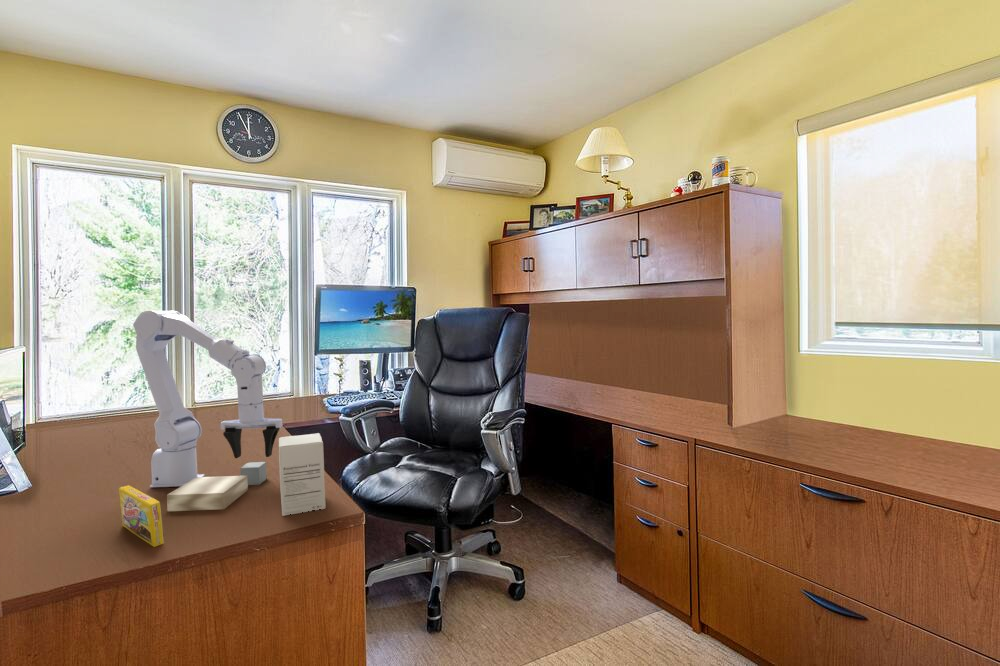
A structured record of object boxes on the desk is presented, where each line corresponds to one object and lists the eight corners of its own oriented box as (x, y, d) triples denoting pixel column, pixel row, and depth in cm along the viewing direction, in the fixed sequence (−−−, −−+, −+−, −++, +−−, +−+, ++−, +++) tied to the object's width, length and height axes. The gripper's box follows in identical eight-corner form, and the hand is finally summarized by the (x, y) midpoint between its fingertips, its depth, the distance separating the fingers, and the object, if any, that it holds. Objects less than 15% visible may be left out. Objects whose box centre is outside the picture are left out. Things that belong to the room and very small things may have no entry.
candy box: (120, 527, 104) (118, 487, 104) (132, 523, 106) (130, 484, 106) (151, 548, 94) (149, 504, 94) (164, 544, 96) (162, 500, 96)
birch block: (167, 513, 112) (166, 495, 112) (197, 493, 124) (196, 477, 124) (224, 510, 113) (223, 492, 113) (247, 491, 125) (247, 475, 125)
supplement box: (280, 502, 116) (278, 436, 115) (322, 496, 120) (320, 432, 119) (281, 516, 108) (278, 446, 107) (326, 509, 111) (323, 441, 111)
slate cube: (241, 485, 128) (240, 467, 128) (248, 479, 133) (248, 462, 133) (259, 485, 128) (258, 467, 128) (266, 479, 133) (266, 461, 133)
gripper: (213, 407, 125) (216, 462, 126) (274, 405, 126) (276, 459, 127) (227, 402, 132) (229, 454, 133) (284, 400, 133) (286, 452, 134)
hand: (253, 456), depth 130 cm, fingers open, 7 cm apart
